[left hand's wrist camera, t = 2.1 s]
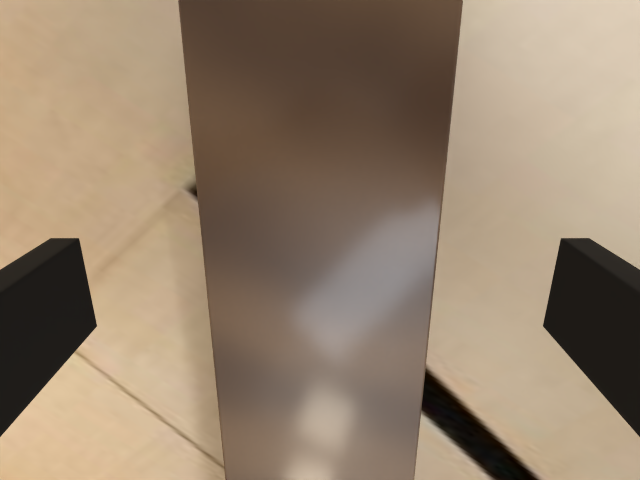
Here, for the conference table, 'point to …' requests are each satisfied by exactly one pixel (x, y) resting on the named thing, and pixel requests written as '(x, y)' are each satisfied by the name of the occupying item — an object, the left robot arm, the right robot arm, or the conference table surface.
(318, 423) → the wide beam
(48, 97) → the conference table surface
